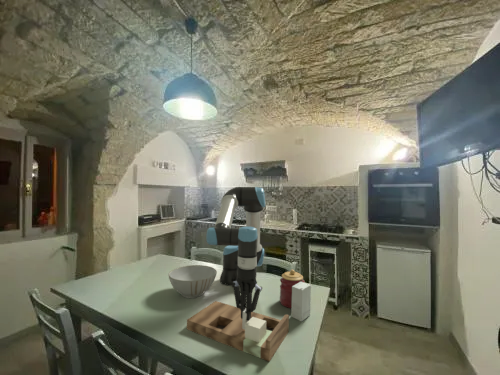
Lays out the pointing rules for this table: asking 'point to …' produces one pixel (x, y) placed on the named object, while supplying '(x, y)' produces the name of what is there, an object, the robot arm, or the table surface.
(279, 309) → the table surface
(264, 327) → the block
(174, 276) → the decorative bowl
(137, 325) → the table surface
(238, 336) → the board
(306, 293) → the skincare box
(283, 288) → the canister
